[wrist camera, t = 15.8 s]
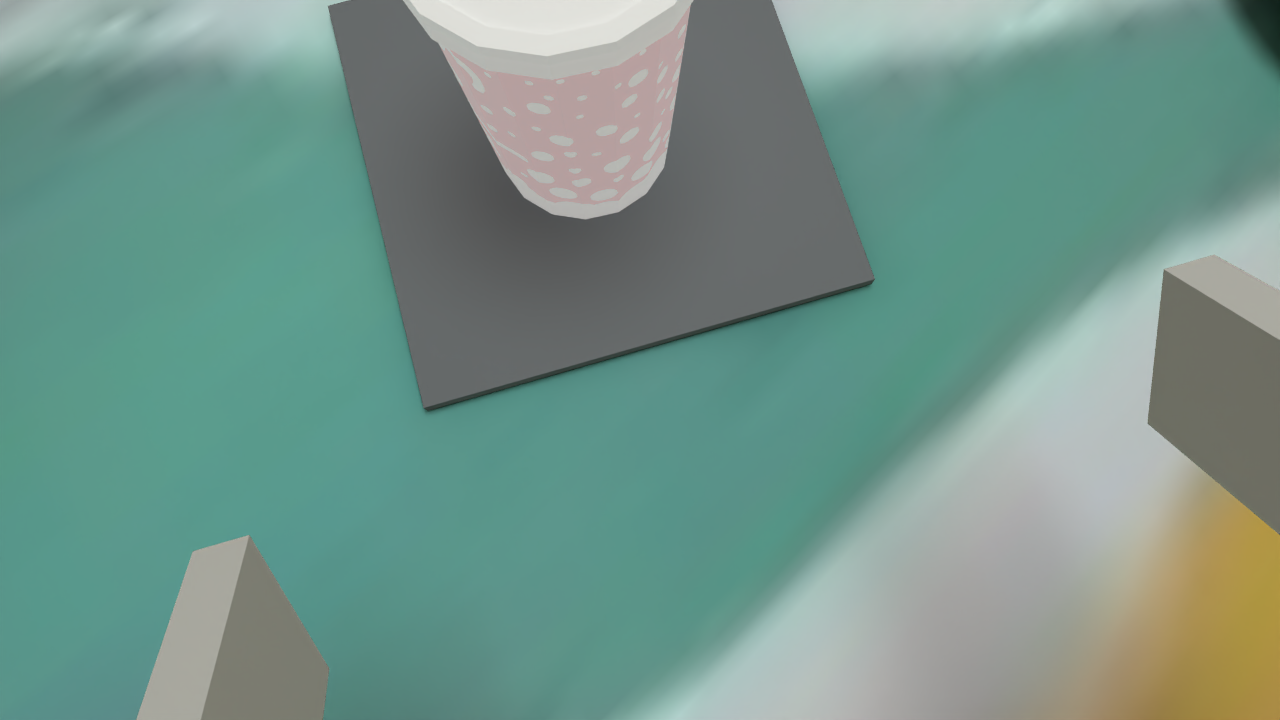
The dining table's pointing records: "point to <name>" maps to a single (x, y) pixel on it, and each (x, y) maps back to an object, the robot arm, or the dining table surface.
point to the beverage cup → (568, 91)
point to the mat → (601, 246)
